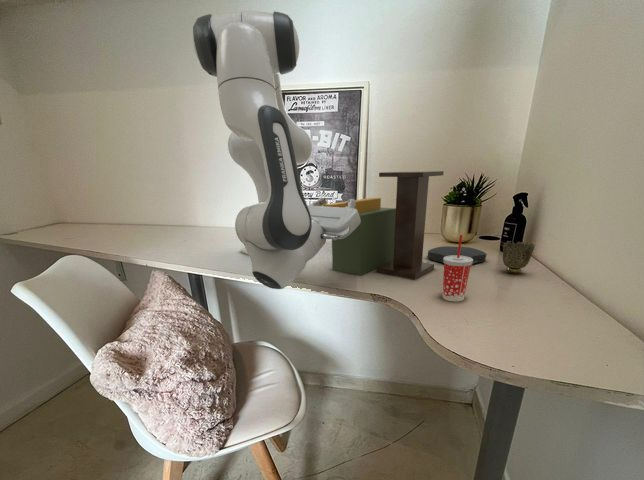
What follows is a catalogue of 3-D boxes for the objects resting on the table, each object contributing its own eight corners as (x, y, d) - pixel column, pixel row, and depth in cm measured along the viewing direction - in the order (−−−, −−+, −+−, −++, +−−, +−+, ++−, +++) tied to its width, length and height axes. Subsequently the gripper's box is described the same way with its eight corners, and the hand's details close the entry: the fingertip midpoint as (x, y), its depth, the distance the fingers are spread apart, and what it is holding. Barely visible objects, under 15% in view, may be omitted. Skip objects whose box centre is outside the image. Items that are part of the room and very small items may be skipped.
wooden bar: (323, 216, 84) (323, 204, 83) (372, 208, 100) (372, 197, 99) (333, 217, 82) (332, 205, 81) (380, 208, 98) (380, 198, 97)
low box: (332, 269, 98) (330, 212, 91) (367, 257, 111) (367, 206, 104) (360, 275, 92) (360, 215, 86) (393, 261, 105) (395, 208, 98)
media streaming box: (422, 257, 108) (422, 248, 107) (454, 252, 114) (455, 243, 113) (457, 268, 96) (458, 258, 95) (490, 261, 103) (492, 251, 102)
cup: (501, 267, 96) (506, 239, 93) (530, 271, 92) (536, 242, 89) (495, 274, 91) (500, 244, 87) (525, 278, 87) (532, 247, 84)
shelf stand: (376, 272, 94) (379, 172, 84) (397, 263, 103) (402, 171, 92) (414, 279, 88) (423, 172, 77) (434, 269, 96) (443, 171, 85)
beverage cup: (459, 292, 78) (467, 231, 73) (472, 301, 73) (482, 237, 67) (434, 294, 77) (440, 233, 72) (446, 303, 72) (454, 238, 66)
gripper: (336, 228, 71) (368, 190, 77) (272, 221, 83) (304, 188, 88) (346, 251, 75) (375, 213, 81) (284, 241, 87) (313, 208, 93)
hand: (338, 200), depth 85 cm, fingers open, 8 cm apart
